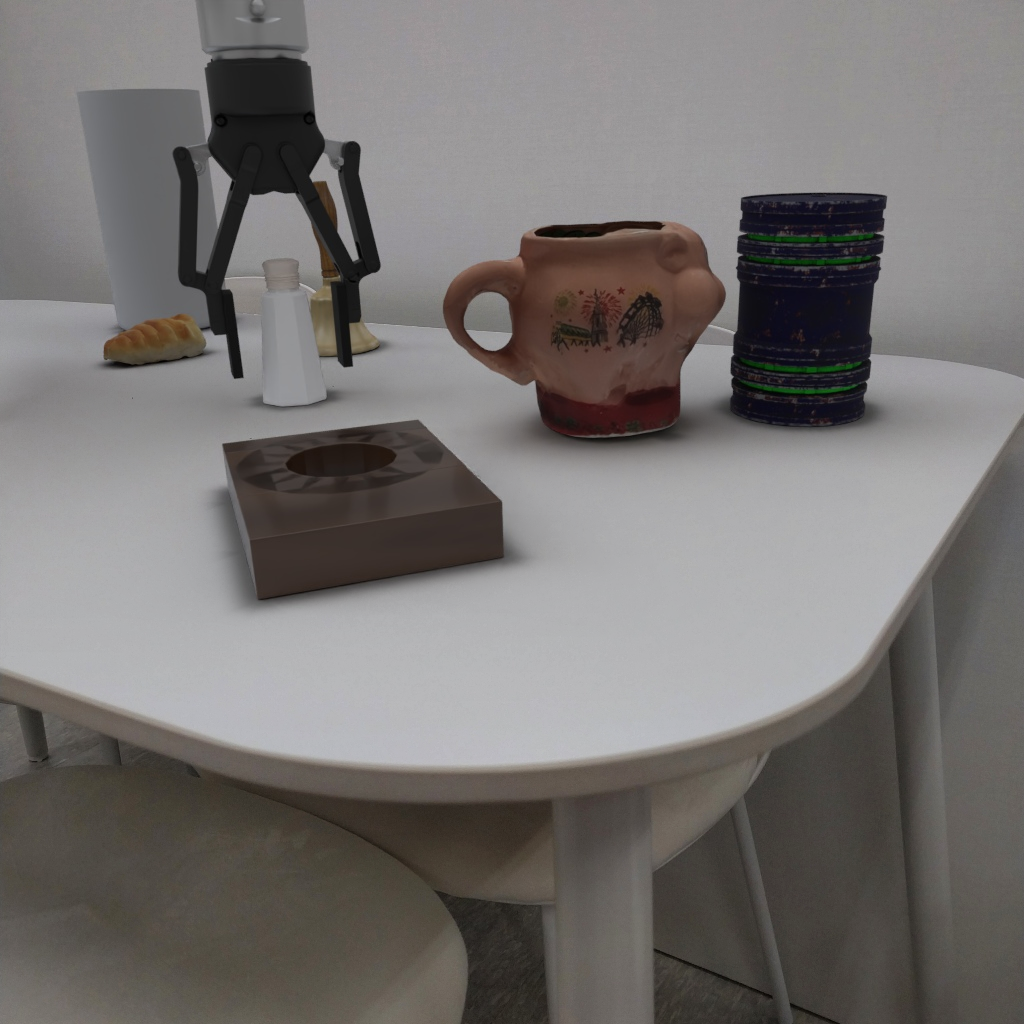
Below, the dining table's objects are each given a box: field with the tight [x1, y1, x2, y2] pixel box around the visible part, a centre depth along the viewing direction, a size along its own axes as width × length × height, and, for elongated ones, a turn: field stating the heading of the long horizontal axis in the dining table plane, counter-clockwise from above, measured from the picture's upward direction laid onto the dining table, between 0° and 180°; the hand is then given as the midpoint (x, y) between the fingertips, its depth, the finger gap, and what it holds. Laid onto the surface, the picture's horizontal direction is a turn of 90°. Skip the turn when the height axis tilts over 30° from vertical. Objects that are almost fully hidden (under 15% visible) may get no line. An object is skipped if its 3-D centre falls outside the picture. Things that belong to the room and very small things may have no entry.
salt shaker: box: [260, 257, 328, 408], centre depth 77 cm, size 5×5×11 cm
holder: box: [221, 419, 505, 600], centre depth 53 cm, size 16×12×3 cm
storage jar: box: [729, 192, 888, 427], centre depth 69 cm, size 10×10×15 cm
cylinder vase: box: [76, 88, 227, 331], centre depth 109 cm, size 12×12×25 cm
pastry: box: [103, 314, 207, 366], centre depth 95 cm, size 9×7×4 cm
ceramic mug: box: [442, 220, 727, 439], centre depth 66 cm, size 20×12×14 cm, turn 113°
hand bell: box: [309, 180, 380, 357], centre depth 95 cm, size 8×8×16 cm
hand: (292, 368), depth 78 cm, fingers open, 8 cm apart
